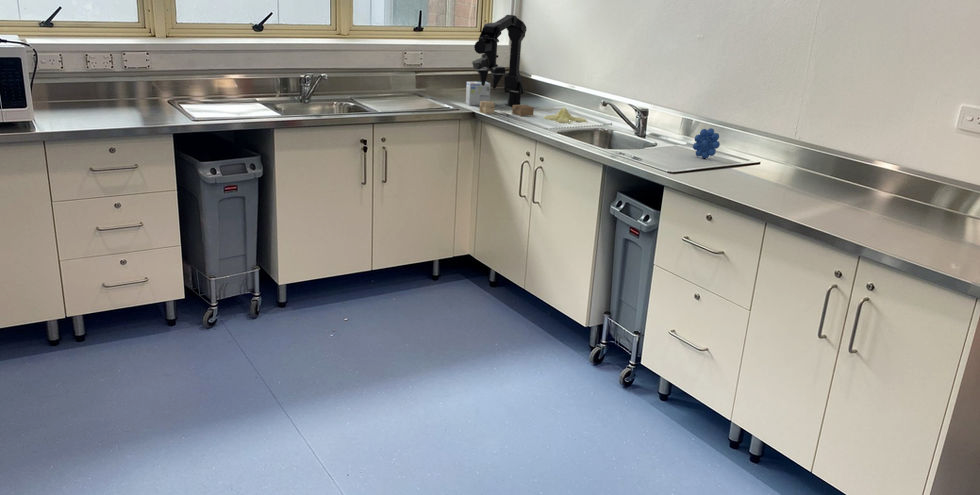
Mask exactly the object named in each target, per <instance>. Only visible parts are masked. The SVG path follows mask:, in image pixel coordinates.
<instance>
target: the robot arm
mask: <svg viewBox="0 0 980 495" xmlns="http://www.w3.org/2000/svg"><path fill="white" fill-rule="evenodd" d="M504 30H507V35H508V38H509V40H510V50H509V51H510V54H509V65H508V66H509V67H508V73H506V70H507V69H506V68H505V67H504V66H499V64H497V58H499V54H498V52H497V51H498V43H500V39H499V37H500V36H501V35H502V32H503V31H504ZM526 32H527V26H526V24H525V23H524V21H523V20H521V19H520V18H518V16H516V15H515V14H505V16H503V17H501V19H498V20H497V21H495V22H488V23H485V24H484V25H483V26H482V30H481V31H480V34H479V37H478V40H477V41H476V42H475V44H474V45H473V46H474V51H475V52H476V54H479V55H481V57H480V58H477V59H475V60H473V61H472V62H471V64H472V67H473V69H474V71H475V72H477V73H478V76H479V79H480V82H481V84H482V86H484V85H485V82H487V77H488V75H490V76H491V78H492V80H491V81H492V84H491V86H492V90H493V89H494V90H495V89H496V88H497V86H498V84H499V82H500V80H502V77H503V76H504V75H505V74H506V75H505V76H504V82H503V87H504V88H503V90H504V93H506V94H507V93H508V94H507V102H506V103H504V105H505V106H508V107H512V108H513V105H521V100H522V99H521V95H524V94H525V91H526V88H525V86H524V84H523V77H522V76H521V73H520V63H521V48H522V41H523V40H524V38H525V37H526ZM489 71H490V73H489Z"/></svg>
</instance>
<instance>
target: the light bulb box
mask: <svg viewBox="0 0 980 495" xmlns="http://www.w3.org/2000/svg"><path fill="white" fill-rule="evenodd" d="M465 91H466V92H465V104H467V105H468V106H480V101H490V99H491V82H488V81H486V82H485V85H484V86H482V84H481V81H466V90H465Z"/></svg>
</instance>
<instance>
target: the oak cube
mask: <svg viewBox="0 0 980 495" xmlns="http://www.w3.org/2000/svg"><path fill="white" fill-rule="evenodd" d="M495 106H496V102H495V101H494V102H493V101H480V105H479V113H480V114H485V115H486V114H495Z"/></svg>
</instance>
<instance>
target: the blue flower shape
mask: <svg viewBox="0 0 980 495" xmlns="http://www.w3.org/2000/svg"><path fill="white" fill-rule="evenodd" d="M719 138H720V134H719V133H717V132H715V129H713V128H711V127H710V128H708V129H707V128H702V129H701V130H700V131H699V134H696V135H695V136H694V143H693V145H692V149H693V150H695V156H696V157H698V156H700V157H701V158H702V157H703V158H707V159H708V158H709V156H710V157H712V156H714V155H716V154H717V149H719V148H720V146H721V144H720V141H719ZM703 158H702V159H703Z"/></svg>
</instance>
